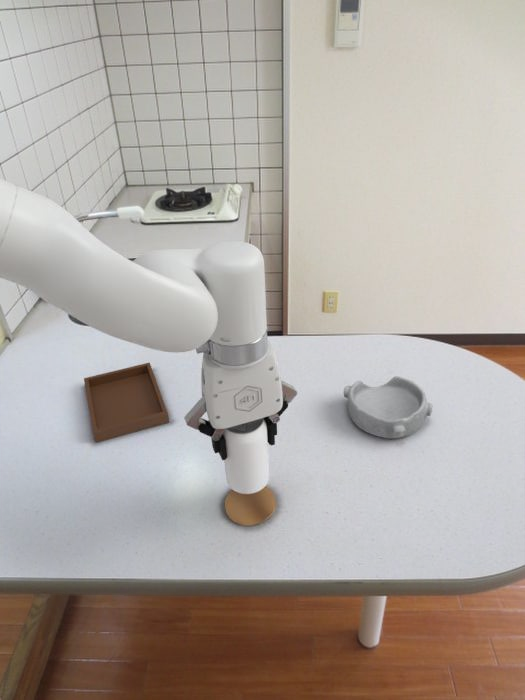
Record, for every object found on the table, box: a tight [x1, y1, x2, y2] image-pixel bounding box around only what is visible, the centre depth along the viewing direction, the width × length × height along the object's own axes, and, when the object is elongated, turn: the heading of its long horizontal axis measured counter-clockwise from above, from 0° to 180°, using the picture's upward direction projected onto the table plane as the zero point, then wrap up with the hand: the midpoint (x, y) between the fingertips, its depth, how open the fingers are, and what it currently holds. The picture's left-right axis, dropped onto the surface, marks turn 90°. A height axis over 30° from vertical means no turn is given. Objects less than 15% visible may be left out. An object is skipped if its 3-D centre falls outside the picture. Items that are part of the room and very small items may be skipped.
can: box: [222, 418, 270, 494], centre depth 76 cm, size 6×6×12 cm
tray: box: [83, 362, 170, 444], centre depth 103 cm, size 18×14×2 cm
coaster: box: [224, 485, 277, 527], centre depth 82 cm, size 8×8×1 cm
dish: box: [343, 375, 433, 439], centre depth 96 cm, size 14×14×5 cm
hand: (245, 445), depth 75 cm, fingers closed on can, 6 cm apart
